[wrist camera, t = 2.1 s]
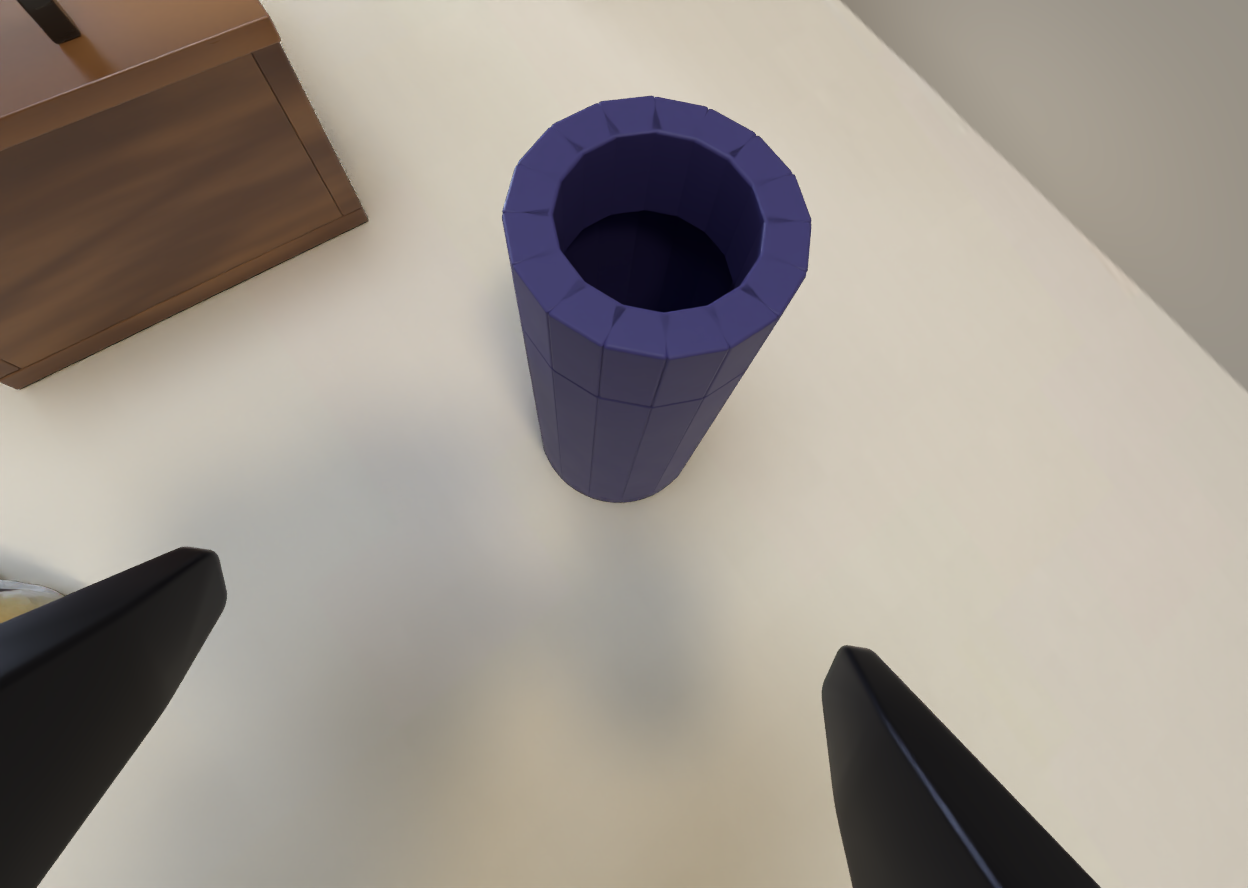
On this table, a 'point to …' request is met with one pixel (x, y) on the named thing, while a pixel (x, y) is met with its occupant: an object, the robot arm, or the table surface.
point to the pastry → (23, 598)
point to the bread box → (160, 209)
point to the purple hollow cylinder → (646, 281)
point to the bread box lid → (111, 54)
